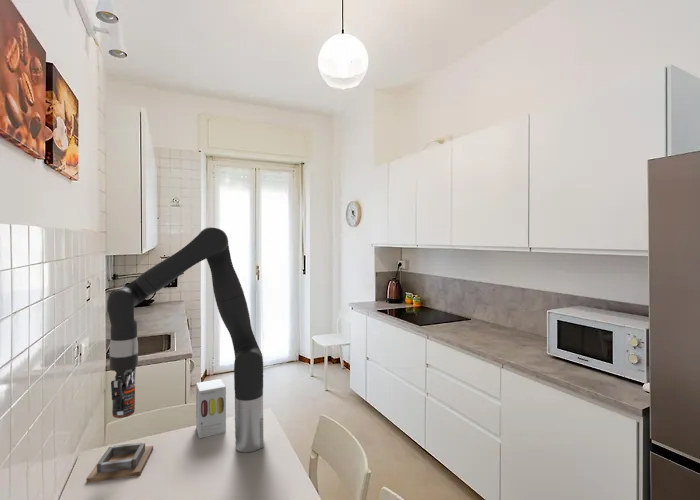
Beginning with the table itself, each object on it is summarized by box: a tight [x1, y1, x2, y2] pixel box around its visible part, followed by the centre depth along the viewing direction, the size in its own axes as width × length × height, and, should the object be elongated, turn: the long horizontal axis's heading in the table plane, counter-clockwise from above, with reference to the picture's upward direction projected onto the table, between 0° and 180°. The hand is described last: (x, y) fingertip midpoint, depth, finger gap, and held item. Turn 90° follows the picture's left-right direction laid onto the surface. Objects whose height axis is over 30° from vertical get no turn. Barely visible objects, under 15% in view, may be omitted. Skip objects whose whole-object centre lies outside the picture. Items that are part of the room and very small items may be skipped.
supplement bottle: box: [111, 377, 136, 419], centre depth 115 cm, size 6×6×11 cm
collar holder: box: [86, 442, 154, 484], centre depth 115 cm, size 14×14×4 cm
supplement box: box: [195, 378, 227, 439], centre depth 136 cm, size 10×9×17 cm
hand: (123, 406), depth 115 cm, fingers closed on supplement bottle, 6 cm apart
